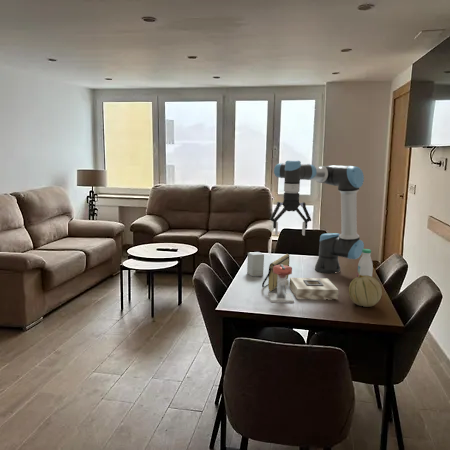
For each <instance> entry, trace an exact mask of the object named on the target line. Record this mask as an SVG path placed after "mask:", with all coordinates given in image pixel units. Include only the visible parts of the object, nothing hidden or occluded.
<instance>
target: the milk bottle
mask: <svg viewBox="0 0 450 450" xmlns="http://www.w3.org/2000/svg"><path fill="white" fill-rule="evenodd" d="M371 255H372V250H371V249H369V248H364V249H362V254H361V256H360V258H359V261H358V264H357V272H356V273H357V274H356V277H358V276H359V275H362V276H363V275H367V276H371V277H373V268H374V267H373V265H374V264H373V263H374V262H373V260H372V257H371Z"/></svg>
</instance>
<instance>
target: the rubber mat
mask: <svg viewBox="0 0 450 450" xmlns="http://www.w3.org/2000/svg"><path fill="white" fill-rule="evenodd" d="M267 297H268V299H269V301H270V303H291V304H292V303H295V299H294V298H293V296H292V294H291V293H290V292H286V297H285V298H278V297H277V292H267Z"/></svg>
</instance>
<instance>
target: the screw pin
mask: <svg viewBox="0 0 450 450" xmlns="http://www.w3.org/2000/svg"><path fill="white" fill-rule="evenodd" d="M273 273H275V274H278V277H277V287H276V293H277V297H278V298H285V297H286V293H287V280H288V279H287V275H288V276H290V275H292V274H293V267H292V266H290V265H289V266H285V265H283V264H280V265H276V266H273Z"/></svg>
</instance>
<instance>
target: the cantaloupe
mask: <svg viewBox="0 0 450 450" xmlns="http://www.w3.org/2000/svg"><path fill="white" fill-rule="evenodd" d="M382 292H383V290H382V286H381V284H380V282H379V281H378V280H377V279H376V277H373V276H372V277H371V276H367V275H363V276H362V275H359V276H358V277H357V276H356V277H354V278H353V279H352V280H351V282H350V283H349V287H348V295H349V297H350V300H351V301H352V302H353V303H354V304H355V305H357V306H358V307H359V306H360V307H362V306H363V307H364V308H366V307H367V308H368V307H369V308H370V307H373V306H375V305H377V304H378V303H379V301H380V300H381V298H382V295H383V293H382Z"/></svg>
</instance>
